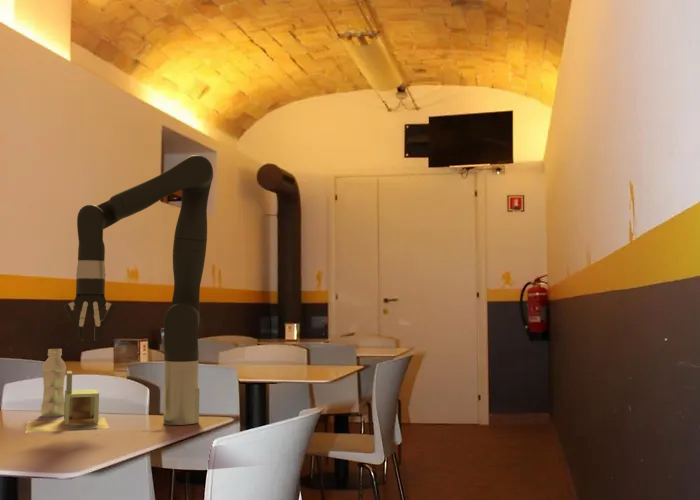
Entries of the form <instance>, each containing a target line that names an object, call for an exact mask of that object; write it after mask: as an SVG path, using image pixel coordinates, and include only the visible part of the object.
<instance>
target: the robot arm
mask: <svg viewBox="0 0 700 500" xmlns="http://www.w3.org/2000/svg"><path fill="white" fill-rule="evenodd" d="M213 178H214V168H213V165H212V163H211V161H210V160H209V159H208V158H207V157H205V156H203V155H199V154H194V155H193V154H192V155H190V156H188V157H186V158H185V159H184V160H181V161H180V162H179V163H177V164H176V165H174V166H173V167H171V168H169V169H168V170H166V171H164V172H163V173H160V174H158V175H157V176H155V177H153V178H151V179H148V180H146V181H143V182H142V183H139V184H137V185H134V186H131V187H130V188H127V189H125V190H123V191H121V192H118V193H116V194H114V195H112V196H111V197H110V198H109V199H108V200H107V201H104V202H102V203H100V204H98V205H96V204H86V205H83V206H82V207H81V208H80V210H79V211H78V213H77V218H76V227H77V229H76V230H77V238H78V247H77V249H78V250H77V265H76V272H75V273H76V274H75V275H76V276H75V277H76V278H75V279H76V280H75V281H76V283H75V298H74V300H73V301H71V302H69V303H66V304H64V309H65V311H66V313H67V315H68V318H69V320H70V322H71V323H72V325H74V326H77V327H78V338H79V339H81V341H82V342H84V341H85V325H84V324H85V321H86V315H90V314H91V315H93V318H94V324H95V326H94V331H93V332H94V333H93V334H94V335H93V341H98V339H100V337H101V326H104V325H107V323H109V322H108V321H109V320H110V318H111V317H112V315H113V312H114V310H115V308H116V305H115V304H114V303H111V302H108V301H107V299H106V297H105V294H106V293H105V291H106V276H107V275H106V265H105V263H106V261H105V256H106V248H105V246H106V245H105V243H104V230H106V229H107V228H109V227H111V226H112V225H114V224H116V223H118V222H119V221H120V220H123V219H126V218H128V217H131V216H133V215H135V214H137V213H140V212H141V211H144V210H145V209H148V208H150V207H151V206H153V205H154V204H156V203H158V202H159V201H161V200H162V199H165V198H166V197H168V196H170V195H172V194H175V193H176V192H177V193H178V192H179V191H181V205H180V210H179V215H178V218H177V221H176V225H175V230H174V236H173V246H172V247H173V248H172V271H173V284H174V285H173V293H172V299H171V304H170V307H169V308H168V309H167V311H166V313H165V314H164V315H165V316H164V320H163V350H164V351H163V352H164V375H163V376H164V382H163V383H164V385H163V424H164V425H168V426H169V425H171V426H185V425H193V424H199V423H200V391H201V390H200V388H199V354H200V353H199V352H200V351H199V344H198V343H199V325H200V322H201V314H200V313H201V312H200V307H201V306H200V293H201V292H200V290H201V283H202V278H203V274H204V268H205V260H206V254H207V253H206V251H207V243H208V211H207V210H208V203H209V202H208V201H209V196H210V190H211V187H212V183H213ZM74 306H75V307H76V308H77V310H79V312H80V315H79V320H77V319H76V316H75V315H74V313H73V311H74V309H75V308H74ZM104 307H105V310H106V312H105V315H104V317H103V319H100V312H101V310H102V309H103V308H104Z"/></svg>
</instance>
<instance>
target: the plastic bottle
mask: <svg viewBox="0 0 700 500" xmlns="http://www.w3.org/2000/svg"><path fill="white" fill-rule="evenodd" d="M62 352H63V349H62V348H49V349H47V357H48V358H47V359H46V360H45V361H44V363H43V364H42V367H41V369H42V378H43V396H42V403H41V408H40V413H41V417H44V418H55V417H56V418H58V417H64V403H65V390H64V389H65V388H64V385H65V378H66V373H67V371H66V370H67V366H66V363H65V361H64V360H63V358H62V356H63V353H62Z"/></svg>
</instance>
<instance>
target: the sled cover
mask: <svg viewBox="0 0 700 500" xmlns="http://www.w3.org/2000/svg"><path fill="white" fill-rule="evenodd" d="M65 381H66V383H65V384H66V385H65V390H64V402H65V403H64V415H63V420H65V425H67V424H69V416H72V399H73V397H91V405H90V415H94V423H98V418H100V416H99V415H100V414H99V413H100V410H99V409H100V392H99V390H98V389H97V388H95V389H93V388H92V389H73V371H72V370H67V371H66V380H65Z"/></svg>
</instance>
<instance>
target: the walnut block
mask: <svg viewBox="0 0 700 500" xmlns="http://www.w3.org/2000/svg"><path fill="white" fill-rule="evenodd" d="M90 405H91V397H73V399H72V420H74V419H90Z"/></svg>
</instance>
